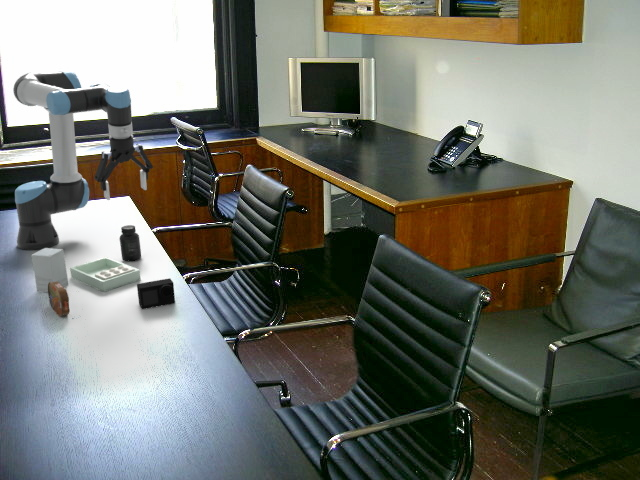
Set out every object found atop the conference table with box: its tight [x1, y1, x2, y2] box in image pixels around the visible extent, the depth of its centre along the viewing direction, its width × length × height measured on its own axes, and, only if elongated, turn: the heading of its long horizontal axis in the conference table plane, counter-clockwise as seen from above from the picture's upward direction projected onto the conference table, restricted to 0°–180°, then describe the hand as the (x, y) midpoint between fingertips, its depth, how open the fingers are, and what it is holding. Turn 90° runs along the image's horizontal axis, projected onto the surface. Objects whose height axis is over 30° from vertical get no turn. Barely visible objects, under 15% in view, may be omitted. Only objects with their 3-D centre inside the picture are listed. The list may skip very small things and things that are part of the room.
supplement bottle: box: [119, 224, 142, 263], centre depth 280 cm, size 7×7×12 cm
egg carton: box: [95, 265, 134, 281], centre depth 259 cm, size 6×11×4 cm, turn 137°
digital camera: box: [136, 278, 176, 310], centre depth 240 cm, size 10×5×7 cm, turn 114°
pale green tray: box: [69, 256, 142, 293], centre depth 263 cm, size 20×14×4 cm
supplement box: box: [31, 247, 69, 293], centre depth 255 cm, size 7×7×13 cm
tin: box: [47, 282, 70, 317], centre depth 237 cm, size 15×3×8 cm, turn 33°
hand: (125, 193), depth 267 cm, fingers open, 13 cm apart
